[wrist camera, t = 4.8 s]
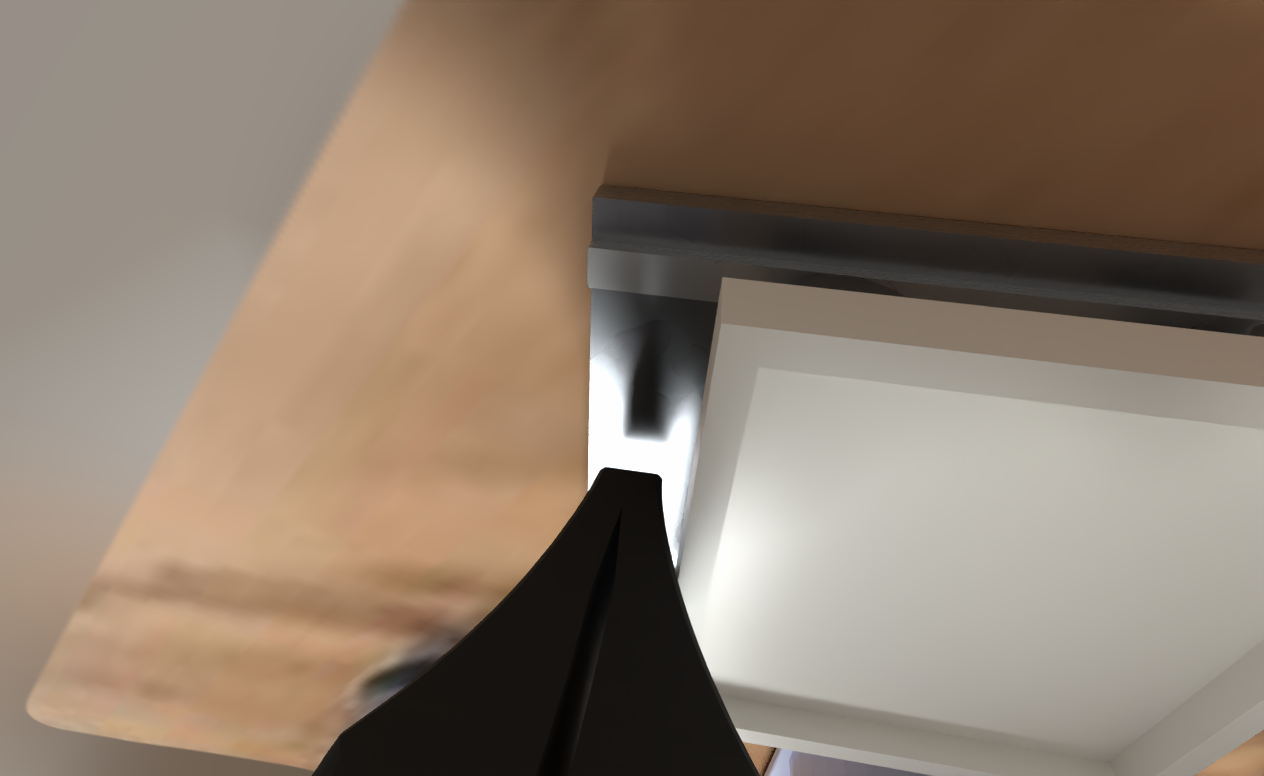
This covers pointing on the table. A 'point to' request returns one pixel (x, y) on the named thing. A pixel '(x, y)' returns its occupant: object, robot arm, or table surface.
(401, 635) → the table surface
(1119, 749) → the white recessed tray
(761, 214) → the dark grey tray
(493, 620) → the robot arm
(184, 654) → the table surface
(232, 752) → the table surface
